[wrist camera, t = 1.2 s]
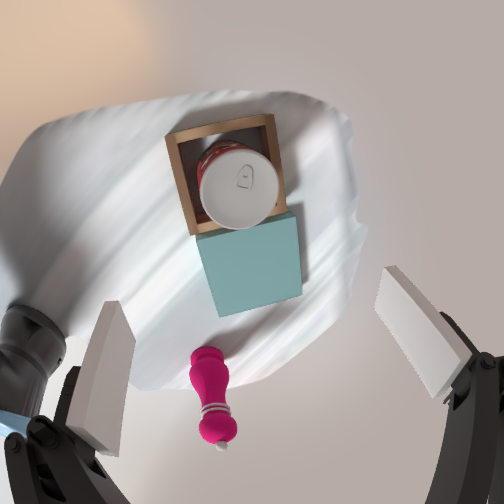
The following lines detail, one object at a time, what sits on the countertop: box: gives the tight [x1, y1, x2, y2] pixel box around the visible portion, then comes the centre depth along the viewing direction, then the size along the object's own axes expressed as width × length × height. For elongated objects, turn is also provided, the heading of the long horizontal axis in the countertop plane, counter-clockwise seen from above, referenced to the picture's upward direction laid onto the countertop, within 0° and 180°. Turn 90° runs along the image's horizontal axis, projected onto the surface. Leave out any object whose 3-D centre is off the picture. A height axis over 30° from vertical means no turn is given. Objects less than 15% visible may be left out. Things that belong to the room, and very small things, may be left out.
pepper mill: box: [189, 347, 237, 451], centre depth 42 cm, size 7×7×20 cm
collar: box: [165, 114, 287, 236], centre depth 34 cm, size 13×13×4 cm
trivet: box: [196, 212, 302, 317], centre depth 42 cm, size 14×14×2 cm
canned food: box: [197, 140, 279, 230], centre depth 30 cm, size 8×8×11 cm
